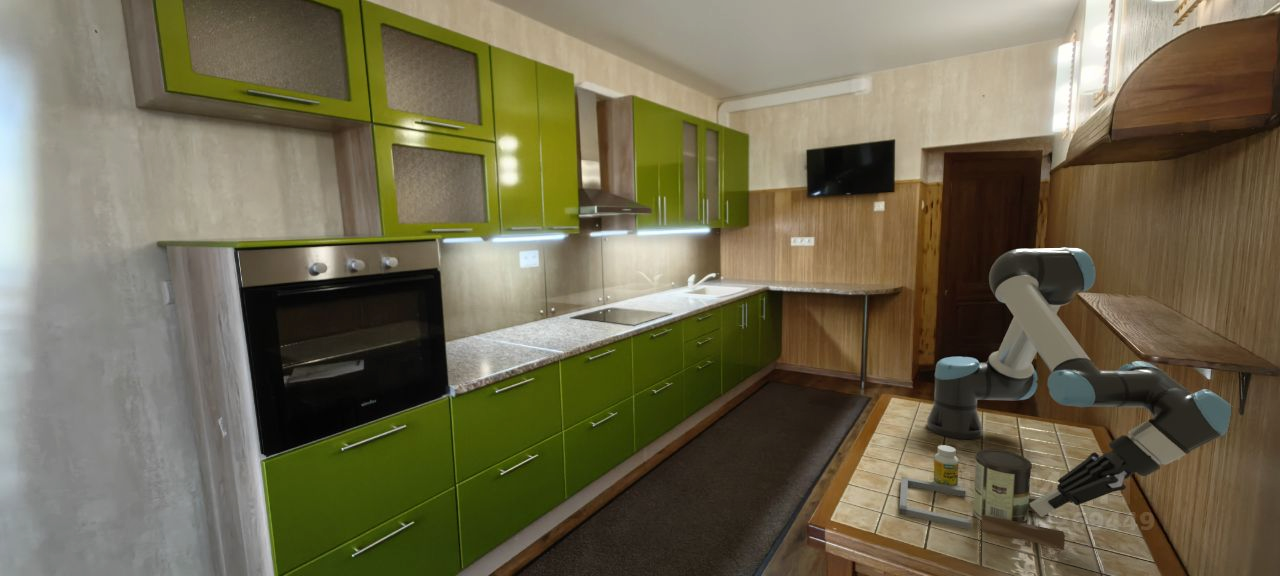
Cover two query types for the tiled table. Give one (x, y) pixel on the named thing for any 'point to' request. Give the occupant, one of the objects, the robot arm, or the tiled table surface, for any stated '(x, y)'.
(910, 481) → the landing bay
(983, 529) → the chute
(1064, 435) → the tiled table surface
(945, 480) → the supplement bottle
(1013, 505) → the coffee can
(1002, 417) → the tiled table surface
